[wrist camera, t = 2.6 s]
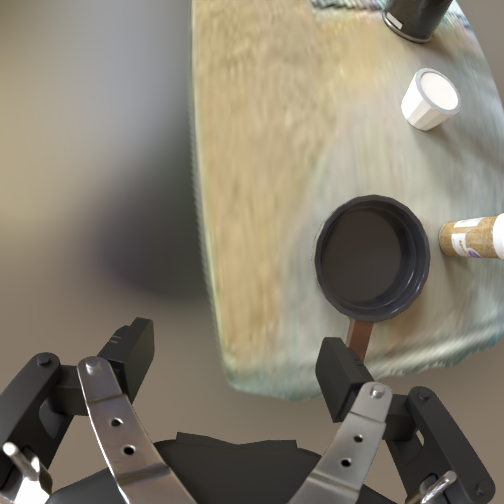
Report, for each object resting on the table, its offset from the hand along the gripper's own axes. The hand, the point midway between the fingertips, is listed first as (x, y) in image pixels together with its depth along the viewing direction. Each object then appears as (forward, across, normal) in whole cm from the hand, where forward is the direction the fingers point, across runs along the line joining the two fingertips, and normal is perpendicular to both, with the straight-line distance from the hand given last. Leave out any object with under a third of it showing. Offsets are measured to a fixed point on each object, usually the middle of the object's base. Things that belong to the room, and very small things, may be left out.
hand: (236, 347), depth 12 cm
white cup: (+21, -22, -22) cm, 37 cm away
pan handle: (+17, -14, +8) cm, 23 cm away
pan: (+18, -15, -1) cm, 24 cm away
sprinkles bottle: (+17, -27, -5) cm, 32 cm away
